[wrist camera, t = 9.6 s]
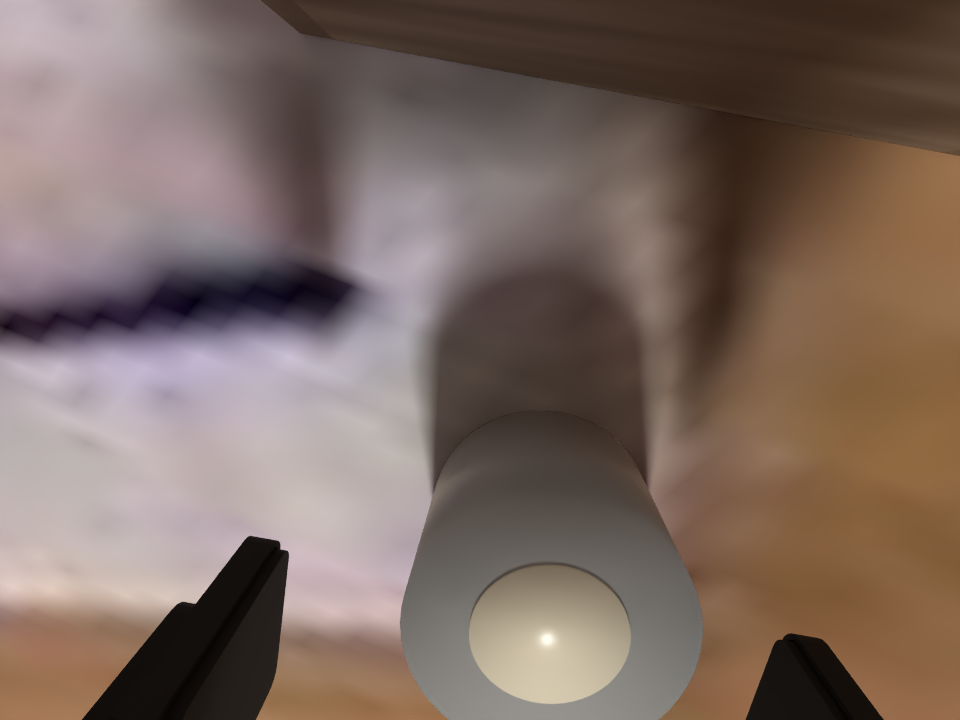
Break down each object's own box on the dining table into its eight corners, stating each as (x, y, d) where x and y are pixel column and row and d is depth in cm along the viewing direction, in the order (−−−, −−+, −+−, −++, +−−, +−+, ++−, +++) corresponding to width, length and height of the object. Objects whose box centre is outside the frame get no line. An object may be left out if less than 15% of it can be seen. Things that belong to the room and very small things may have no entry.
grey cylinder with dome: (618, 619, 17) (659, 783, 12) (418, 580, 17) (380, 727, 12) (671, 433, 16) (742, 534, 11) (453, 391, 16) (424, 472, 11)
